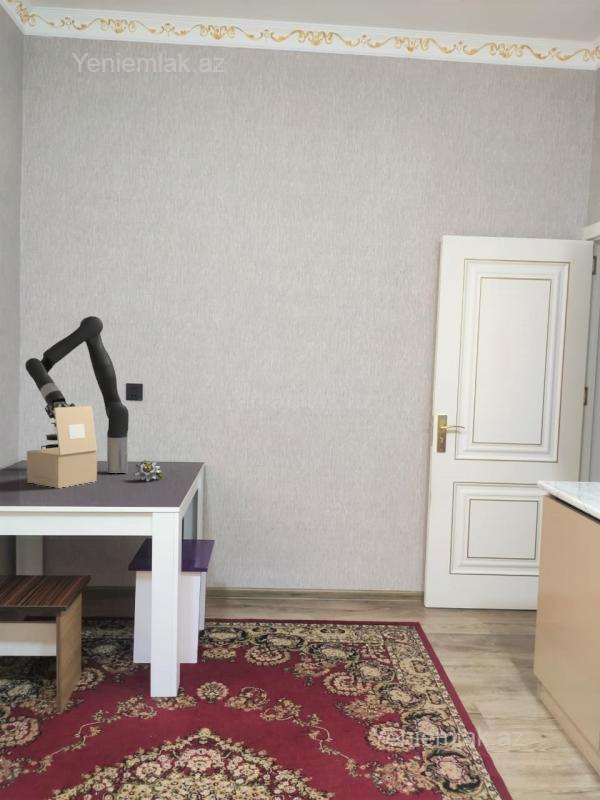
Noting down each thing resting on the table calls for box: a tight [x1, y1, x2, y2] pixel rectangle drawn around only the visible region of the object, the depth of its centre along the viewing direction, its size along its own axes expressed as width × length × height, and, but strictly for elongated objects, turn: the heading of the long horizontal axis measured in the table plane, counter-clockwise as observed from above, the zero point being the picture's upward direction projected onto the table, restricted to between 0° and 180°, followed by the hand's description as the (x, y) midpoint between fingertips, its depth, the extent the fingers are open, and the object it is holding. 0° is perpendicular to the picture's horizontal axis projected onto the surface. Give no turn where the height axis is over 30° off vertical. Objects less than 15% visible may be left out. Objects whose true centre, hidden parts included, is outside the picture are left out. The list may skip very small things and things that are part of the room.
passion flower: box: [133, 458, 163, 482], centre depth 291 cm, size 11×11×12 cm
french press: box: [40, 422, 58, 449], centre depth 315 cm, size 12×9×23 cm
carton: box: [26, 447, 98, 489], centre depth 282 cm, size 21×21×14 cm
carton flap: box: [53, 405, 98, 455], centre depth 276 cm, size 20×19×1 cm
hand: (70, 423), depth 278 cm, fingers open, 8 cm apart
